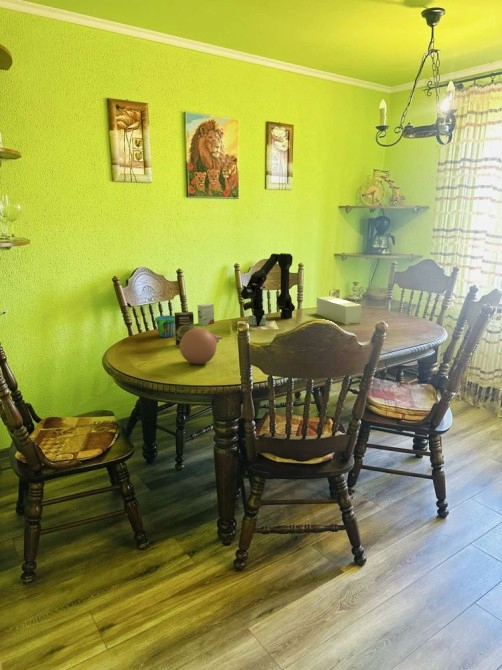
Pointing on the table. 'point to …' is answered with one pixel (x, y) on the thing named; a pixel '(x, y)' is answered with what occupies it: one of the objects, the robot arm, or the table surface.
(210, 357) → the balloon
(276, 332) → the table surface
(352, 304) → the stack of papers
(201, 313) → the ink box
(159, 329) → the snack cup
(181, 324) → the coffee box
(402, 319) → the table surface
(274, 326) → the maple board
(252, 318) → the block
